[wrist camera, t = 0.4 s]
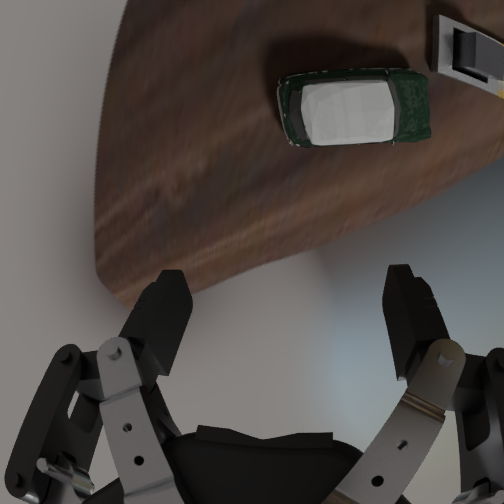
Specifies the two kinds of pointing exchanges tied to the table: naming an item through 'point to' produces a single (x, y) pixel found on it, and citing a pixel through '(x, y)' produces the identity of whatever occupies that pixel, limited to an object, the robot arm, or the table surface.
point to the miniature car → (354, 107)
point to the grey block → (478, 55)
